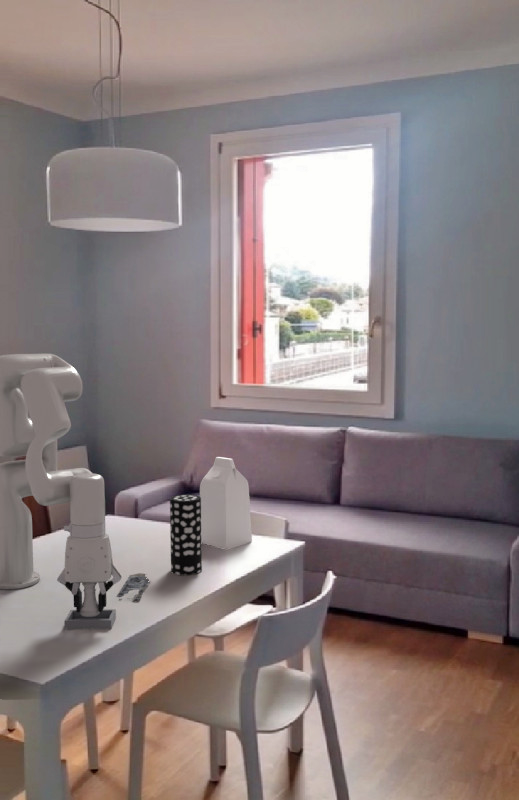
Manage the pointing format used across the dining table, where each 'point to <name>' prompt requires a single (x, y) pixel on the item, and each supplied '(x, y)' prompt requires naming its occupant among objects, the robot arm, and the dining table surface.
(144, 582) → the driftwood
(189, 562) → the white-spotted black cylinder
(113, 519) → the dining table surface
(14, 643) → the dining table surface
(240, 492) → the milk
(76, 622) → the gray rectangular open tray
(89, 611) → the rook chess piece
